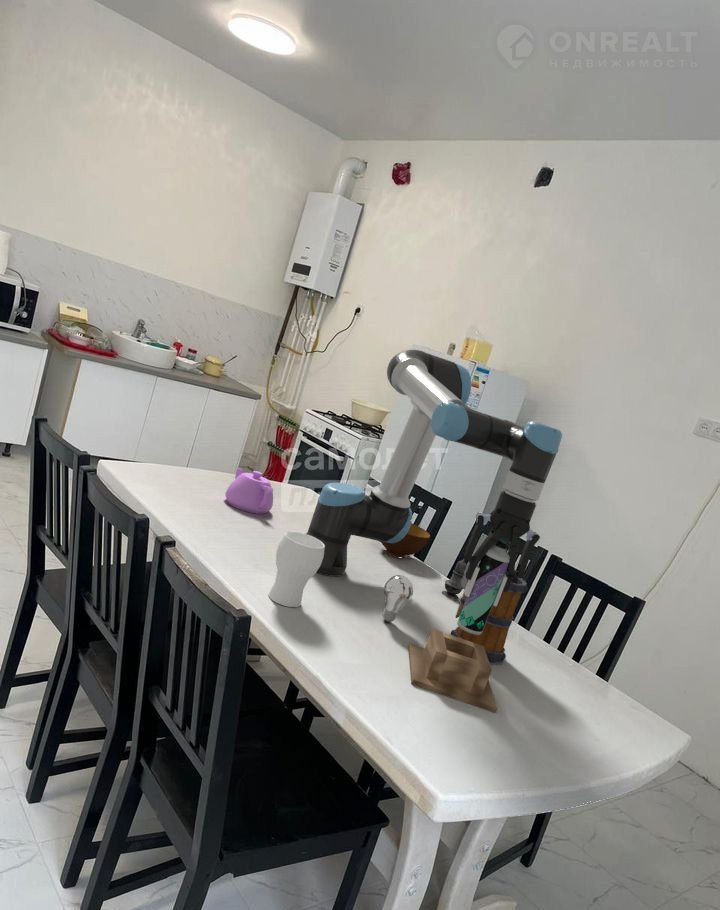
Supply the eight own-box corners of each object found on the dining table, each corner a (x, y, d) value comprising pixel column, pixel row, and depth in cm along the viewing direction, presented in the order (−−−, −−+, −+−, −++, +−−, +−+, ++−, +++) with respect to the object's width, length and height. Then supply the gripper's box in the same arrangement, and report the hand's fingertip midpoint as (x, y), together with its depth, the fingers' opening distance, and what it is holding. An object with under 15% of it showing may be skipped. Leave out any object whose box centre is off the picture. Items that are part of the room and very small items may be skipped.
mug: (428, 622, 177) (455, 550, 174) (473, 629, 183) (500, 560, 180) (467, 662, 160) (498, 583, 157) (515, 668, 166) (545, 592, 163)
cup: (314, 604, 162) (334, 546, 160) (292, 614, 152) (313, 552, 150) (277, 585, 166) (296, 528, 164) (253, 594, 156) (274, 532, 154)
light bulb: (403, 623, 170) (420, 579, 168) (396, 631, 163) (413, 585, 161) (378, 612, 172) (394, 567, 170) (369, 619, 165) (386, 573, 163)
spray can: (454, 619, 148) (486, 533, 145) (477, 626, 149) (510, 541, 146) (460, 630, 143) (494, 541, 140) (484, 637, 144) (518, 549, 141)
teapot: (283, 521, 222) (295, 486, 221) (243, 517, 212) (255, 480, 210) (249, 496, 238) (260, 464, 237) (210, 491, 228) (221, 457, 226)
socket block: (411, 683, 139) (423, 652, 138) (408, 647, 156) (418, 619, 155) (496, 712, 139) (508, 681, 138) (483, 672, 157) (494, 644, 156)
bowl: (362, 547, 223) (372, 518, 222) (379, 540, 240) (389, 513, 238) (411, 569, 218) (422, 540, 216) (425, 560, 234) (436, 533, 233)
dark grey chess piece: (459, 602, 202) (473, 564, 200) (440, 594, 203) (454, 557, 201) (460, 596, 208) (473, 559, 206) (441, 589, 208) (455, 552, 207)
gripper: (479, 484, 138) (440, 590, 141) (566, 514, 138) (525, 619, 141) (474, 478, 145) (437, 579, 149) (557, 506, 146) (518, 606, 149)
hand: (480, 598), depth 145 cm, fingers closed on spray can, 5 cm apart
